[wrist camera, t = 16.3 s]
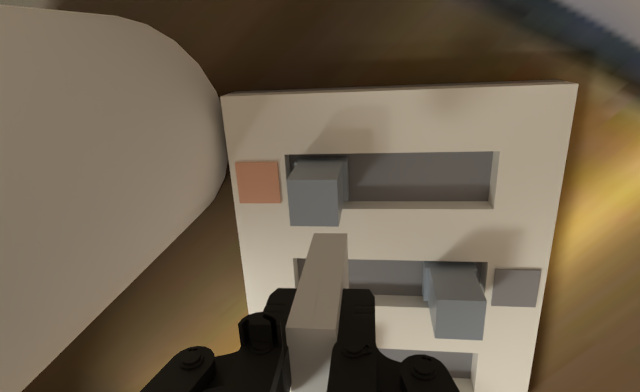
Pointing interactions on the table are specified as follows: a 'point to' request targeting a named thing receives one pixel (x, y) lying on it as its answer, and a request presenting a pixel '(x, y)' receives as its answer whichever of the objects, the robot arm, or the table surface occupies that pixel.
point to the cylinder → (92, 170)
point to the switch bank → (414, 203)
